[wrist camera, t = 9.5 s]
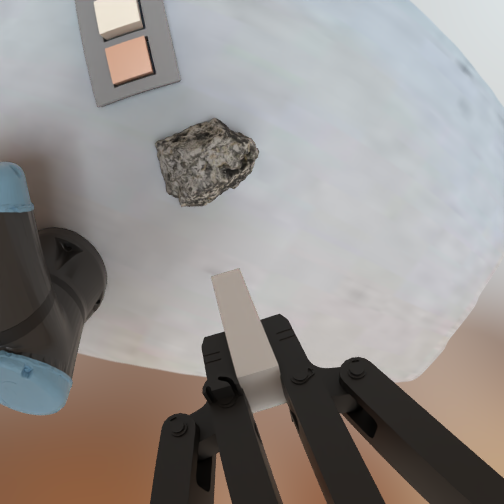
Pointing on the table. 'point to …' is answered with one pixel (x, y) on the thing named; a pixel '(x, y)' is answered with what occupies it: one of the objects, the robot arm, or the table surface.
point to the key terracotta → (129, 61)
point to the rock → (205, 162)
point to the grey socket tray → (97, 44)
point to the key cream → (117, 17)
